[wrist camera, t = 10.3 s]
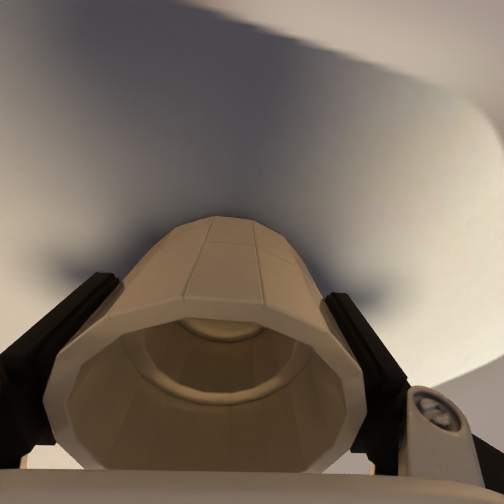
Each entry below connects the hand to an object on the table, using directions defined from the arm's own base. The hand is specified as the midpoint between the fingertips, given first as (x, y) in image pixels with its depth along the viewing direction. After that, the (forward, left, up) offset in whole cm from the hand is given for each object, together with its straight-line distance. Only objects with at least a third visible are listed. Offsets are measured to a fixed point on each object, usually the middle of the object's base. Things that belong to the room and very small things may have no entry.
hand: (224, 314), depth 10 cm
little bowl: (0, 0, -2) cm, 2 cm away
